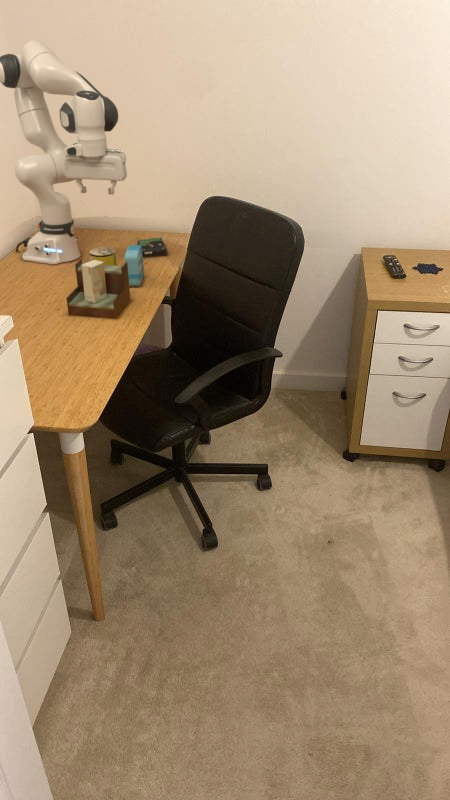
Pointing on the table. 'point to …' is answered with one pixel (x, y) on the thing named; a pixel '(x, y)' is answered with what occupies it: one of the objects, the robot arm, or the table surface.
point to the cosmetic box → (94, 281)
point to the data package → (134, 264)
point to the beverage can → (103, 255)
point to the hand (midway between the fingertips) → (97, 193)
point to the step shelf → (114, 288)
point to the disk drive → (152, 247)
